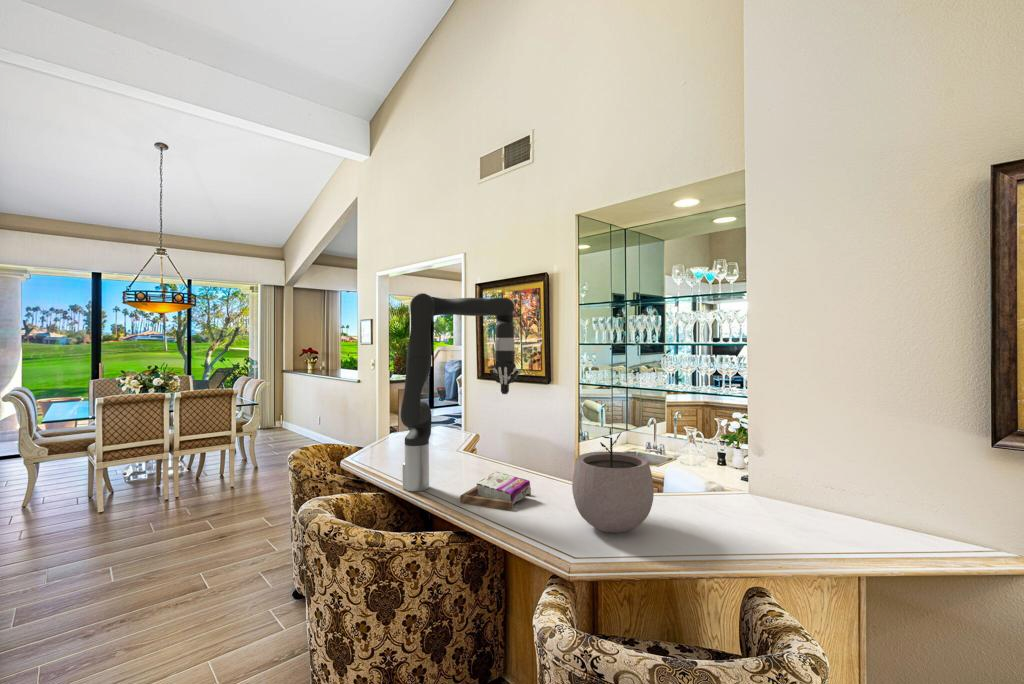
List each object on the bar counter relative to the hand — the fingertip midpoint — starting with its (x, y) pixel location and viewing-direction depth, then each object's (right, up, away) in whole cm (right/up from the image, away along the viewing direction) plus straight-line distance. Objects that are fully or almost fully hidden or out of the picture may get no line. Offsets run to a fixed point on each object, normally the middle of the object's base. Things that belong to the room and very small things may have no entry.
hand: (504, 393), depth 183 cm
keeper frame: (-2, -36, -14) cm, 39 cm away
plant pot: (+33, -36, -42) cm, 64 cm away
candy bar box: (+6, -33, -19) cm, 38 cm away
